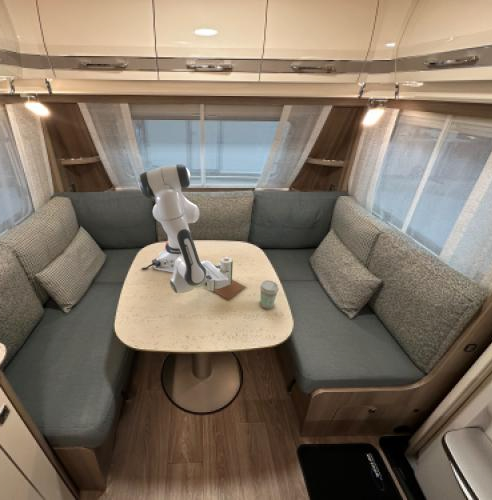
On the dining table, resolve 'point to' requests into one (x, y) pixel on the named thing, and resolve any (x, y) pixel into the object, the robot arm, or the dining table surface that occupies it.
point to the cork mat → (229, 290)
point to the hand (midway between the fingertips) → (225, 269)
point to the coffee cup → (268, 293)
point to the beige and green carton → (226, 267)
